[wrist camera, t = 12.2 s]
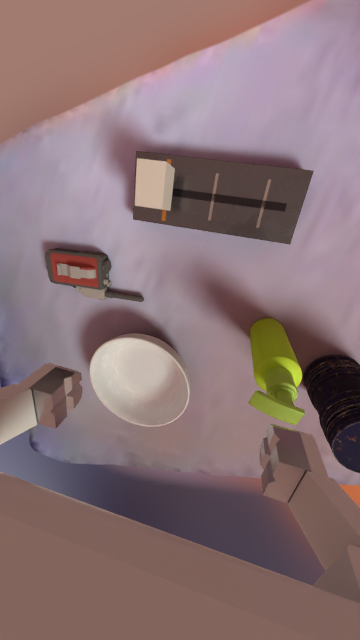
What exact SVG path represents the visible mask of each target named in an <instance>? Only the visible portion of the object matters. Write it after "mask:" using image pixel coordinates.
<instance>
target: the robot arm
mask: <svg viewBox="0 0 360 640" xmlns="http://www.w3.org/2000/svg"><path fill="white" fill-rule="evenodd" d="M81 380H82V377H81V373H80V372H78V371H75V370H72V369H68V368H65V367H62V366H57V365H54V364H51V363H48V364H45V365H44V366H42V367H41V368H39V369H38V370H37V371H35V372H34V373H33V374H31V375H30V376H29V377H27V378H26V379H24V380H23V381H22V382H20V383H19V384H18V385H15V384H13V385H9V386H6V387H3V388H0V444H2V443H4V442H6V441H8V440H9V439H11V438H13V437H15V436H17V435H19V434H21V433H23V432H24V431H26V430H28V429H30V428H32V427H34V426H36V425H37V423H38V424H41V425H45V426H48V427H52V428H55V429H56V428H57V427H58V426H59V425H60V424H61V423H62V421H63V420H64V419H65V418H66V417H67V411H69V410H71V409H74V408H75V407H76V405H77V404H78V403H79V401H80V399H81V396H82V386H81V385H80V383H79V382H80V381H81ZM260 465H261V466H262V468H263V469H264V471H263V473H262V476H261V478H262V488H263V495H265V496H268V497H271V498H274V499H276V500H279V501H282V502H285V503H288V507H289V508H290V510H291V511H292V513H293V515H294V517H295V519H296V520H297V522H298V524H299V526H300V528H301V529H302V531H303V533H304V535H305V536H306V538H307V540H308V542H309V543H310V545H311V547H312V548H313V550H314V552H315V554H316V555H317V557H318V559H319V561H320V562H321V564H322V566H323V568H324V570H325V571H326V572H325V573H324V574H323V575H322V576H321V578H320V579H319V580H318V581H317V582H316V584H314V586H311V585H308V584H306V583H303V582H300V581H297V580H294V579H292V578H289V577H286V576H284V575H281V574H278V573H276V572H273V571H270V570H267V569H265V568H262V567H259V566H256V565H254V564H251V563H248V562H245V561H243V560H240V559H237V558H235V557H232V556H229V555H226V554H224V553H221V552H218V551H215V550H213V549H210V548H207V547H204V546H202V545H199V544H196V543H194V542H191V541H188V540H185V539H183V538H180V537H177V536H175V535H172V534H169V533H166V532H164V531H161V530H158V529H156V528H153V527H150V526H147V525H145V524H142V523H139V522H136V521H134V520H131V519H128V518H126V517H123V516H120V515H117V514H115V513H112V512H109V511H106V510H104V509H101V508H98V507H95V506H92V505H90V504H87V503H84V502H82V501H79V500H76V499H74V498H71V497H68V496H65V495H63V494H60V493H57V492H54V491H51V490H49V489H46V488H43V487H40V486H38V485H35V484H32V483H30V482H27V481H24V480H21V479H19V478H16V477H13V476H11V475H7V474H5V473H2V472H0V640H360V508H359V507H358V506H357V505H356V504H355V502H354V501H353V500H352V499H351V498H350V497H349V496H348V495H347V494H346V492H345V491H344V490H343V489H342V488H341V487H340V486H339V485H338V484H337V482H336V481H335V480H334V479H332V478H329V477H328V474H327V471H326V469H325V466H324V463H323V460H322V458H321V455H320V452H319V449H318V447H317V444H316V441H315V439H314V437H313V436H312V435H311V434H307V433H303V432H299V431H295V430H291V429H288V428H284V427H280V426H276V425H273V424H270V425H269V426H268V429H267V437H266V438H264V439H263V441H262V444H261V448H260Z"/></svg>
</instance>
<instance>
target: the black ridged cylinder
mask: <svg viewBox="0 0 360 640" xmlns="http://www.w3.org/2000/svg"><path fill="white" fill-rule="evenodd" d="M303 378H304V384H305V386H306V388H307V393H308V395H309V398H310V400H311V402H312V404H313V406H314V407H315V409H316V410H317V411H318V414H319V419H320V425H321V427H322V429H323V432H324V435H325V437H326V439H327V441H328V443H329V445H330V447H331V449H332V452H333V454H334V456H335V458H336V459H337V461H338V462H339V463H340V464H341V465H343V466H344V467H346V468H347V469H349V470H351V471H354V472H357V473H360V365H359V364H358V363H357V362H356V361H355V360H353V359H351V358H349V357H347V356H343V355H327V356H323V357H320V358H318V359H316V360H315V361H313V362H312V363H311V364H309V366H308V367H307V368H306V370H305V372H304V376H303Z"/></svg>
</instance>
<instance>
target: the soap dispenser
mask: <svg viewBox="0 0 360 640" xmlns="http://www.w3.org/2000/svg"><path fill="white" fill-rule="evenodd" d="M250 340H251V349H252V359H253V368H254V377H255V381H256V383H257V384H258V386H259V387H260V388H262V389H263V390H265V391H267V395H266V394H264V393H263V392H261V391H255V393H254V394H253V396H252V397H251V399H250V401H249V402H248V403H249V404H250V405H251V406H253V407H255V408H256V409H258V410H260V411H262V412H263V413H265V414H267V415H270V416H272V417H274V418H277V419H279V420H282V421H285V422H287V423H290V424H293V425H296V424H297V423H298V422H299V420H300V419H301V418H302V417H303V416H304V414H305V412H304V410H303V409H300V408H298V407H295V406H294V404H293V402H294V401H295V400H296V398H297V396H298V391H297V387H298V386H299V384H300V383H301V380H302V370H301V368H300V366H299V363H298V361H297V358H296V356H295V354H294V351H293V349H292V347H291V344H290V342H289V340H288V337H287V335H286V333H285V330H284V328H283V326H282V325H281V323H280V322H278V321H277V320H275V319H271V318H264V319H260V320H258V321H256V322H255V323H254V324H253V325H252V327H251V329H250Z"/></svg>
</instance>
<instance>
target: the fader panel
mask: <svg viewBox="0 0 360 640" xmlns="http://www.w3.org/2000/svg"><path fill="white" fill-rule="evenodd" d="M137 158H140V159H148V160H157V161H166V162H168V163H169V164H170V165H171V166H172V167H173V168H175V173H174V182H173V192H172V201H171V210H170V211H168V210H161V209H155V208H148V207H141V206H135V190H134V212H133V219H134V220H140V221H147V222H153V223H159V224H165V225H172V226H178V227H184V228H191V229H197V230H203V231H209V232H216V233H222V234H228V235H235V236H241V237H247V238H253V239H260V240H266V241H272V242H279V243H285V244H290V243H291V239H292V236H293V233H294V230H295V227H296V224H297V221H298V218H299V215H300V211H301V208H302V205H303V202H304V199H305V196H306V193H307V190H308V186H309V183H310V180H311V177H312V174H313V171H311V170H302V169H293V168H284V167H275V166H266V165H257V164H248V163H239V162H230V161H221V160H212V159H203V158H194V157H185V156H176V155H167V154H158V153H149V152H140V151H136V168H137ZM135 189H136V169H135Z"/></svg>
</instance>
